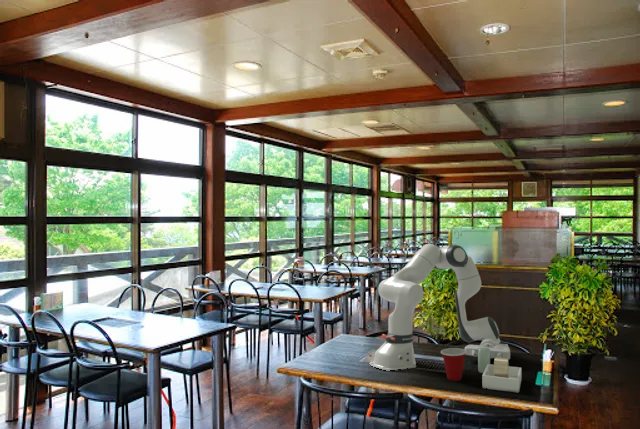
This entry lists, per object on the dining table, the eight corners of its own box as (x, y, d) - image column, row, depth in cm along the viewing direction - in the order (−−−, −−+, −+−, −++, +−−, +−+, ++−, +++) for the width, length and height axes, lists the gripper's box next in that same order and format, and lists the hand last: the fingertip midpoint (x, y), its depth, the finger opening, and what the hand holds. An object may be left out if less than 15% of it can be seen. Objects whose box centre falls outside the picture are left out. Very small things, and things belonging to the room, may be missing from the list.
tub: (518, 392, 195) (518, 379, 195) (482, 388, 201) (482, 375, 201) (521, 379, 211) (521, 367, 211) (487, 375, 217) (487, 363, 217)
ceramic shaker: (485, 373, 219) (485, 350, 220) (475, 371, 224) (475, 348, 224) (492, 371, 222) (492, 349, 222) (482, 369, 226) (482, 346, 227)
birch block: (507, 386, 199) (507, 361, 199) (494, 385, 201) (494, 360, 202) (508, 383, 204) (508, 358, 204) (495, 381, 206) (495, 357, 206)
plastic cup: (438, 374, 219) (438, 347, 219) (463, 374, 218) (463, 347, 218) (443, 382, 208) (443, 353, 208) (469, 382, 207) (469, 353, 208)
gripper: (466, 340, 245) (461, 346, 233) (511, 344, 237) (508, 351, 224) (466, 353, 245) (462, 360, 233) (511, 357, 237) (509, 365, 224)
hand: (485, 356), depth 228 cm, fingers open, 8 cm apart
